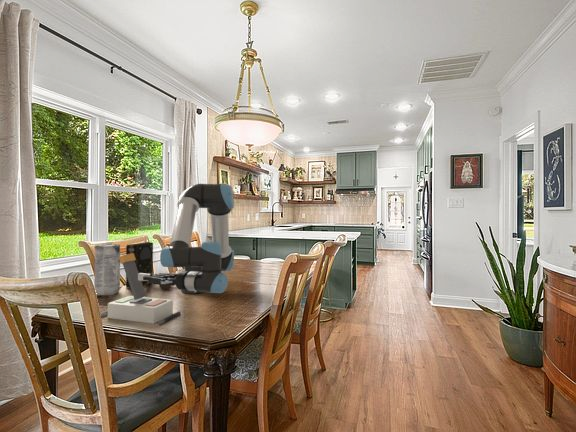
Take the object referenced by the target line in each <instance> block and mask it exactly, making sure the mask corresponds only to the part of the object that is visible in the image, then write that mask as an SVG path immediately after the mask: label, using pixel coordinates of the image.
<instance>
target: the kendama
mask: <svg viewBox="0 0 576 432" xmlns="http://www.w3.org/2000/svg"><path fill="white" fill-rule="evenodd" d="M152 285H153V286H154V285H155V286H157V284H152ZM171 286H172V285H167V284H165V286H161V285H159V289H160V290H162V291H167V290H168V291H169V290H170V288H171Z"/></svg>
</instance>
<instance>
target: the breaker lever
mask: <svg viewBox="0 0 576 432" xmlns="http://www.w3.org/2000/svg"><path fill="white" fill-rule="evenodd" d="M119 260H120V265H122V267H123V269H124V272H125V276H126V275H127V278H128V281H129V284H130V288H129V289H130V291H131V293H132V296H133V297H134V300H137V299H139V298H142V297H147V294H146V291H145V288H144V287H143V285H142V282H141V281H140V280H138V274H139V273H138V270H137V267H136V264H135V261H134V260H136V258H135V255H134V253H132V254H126V253H125V254H122V255H120V257H119Z"/></svg>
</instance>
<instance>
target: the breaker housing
mask: <svg viewBox="0 0 576 432" xmlns="http://www.w3.org/2000/svg"><path fill="white" fill-rule="evenodd" d="M173 305H174V300H173V299H166V298H158V297H157V298H156V297H147V296H145V297H142V298H139V299H137V300H134V297H133V295H128V296H125V297H122V298H119V299H115V300H113V301H110V302H107V311H108V315H107V319H114V320H123V321H131V322H136V323H137V322H139V323H148V324H155V323H158V321H160V320H162V319H164V318H166V317H168V316H170V315H172V314H174V310H173V309H174V307H173Z"/></svg>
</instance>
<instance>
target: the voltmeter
mask: <svg viewBox="0 0 576 432" xmlns="http://www.w3.org/2000/svg"><path fill="white" fill-rule="evenodd" d="M125 249H126V250H125V255H126V254H132V253H134V255H135V258H136V260H134V261H135V264H136V267H137V270H138V273H146V274H151V273H153V274H154V266H153V265H154V264H153V263H154V243H153V242H151V241H150V242H149V241H143V242H137V243H131V244H126V246H125ZM141 282H142V285H143V288H144V287H146V286H149V285H153V284H152V283H148V281H141ZM125 288H127V289H131V288H130V284H129V281H128V278H127V275H126V274H125Z"/></svg>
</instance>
